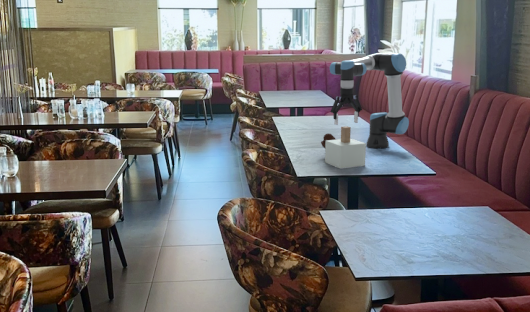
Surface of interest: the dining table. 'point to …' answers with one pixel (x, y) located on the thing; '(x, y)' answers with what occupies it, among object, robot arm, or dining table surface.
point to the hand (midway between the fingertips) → (346, 123)
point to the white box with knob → (345, 151)
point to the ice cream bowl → (327, 137)
